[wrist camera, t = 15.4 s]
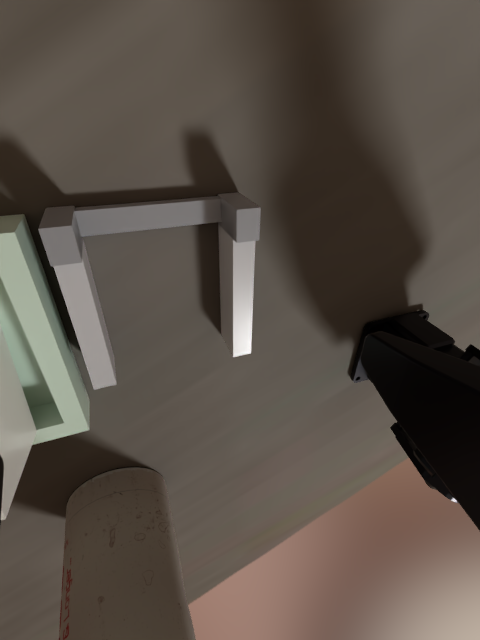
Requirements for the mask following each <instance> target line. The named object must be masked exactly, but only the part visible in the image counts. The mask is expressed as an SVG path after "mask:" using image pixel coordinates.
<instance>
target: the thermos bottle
mask: <svg viewBox="0 0 480 640" xmlns="http://www.w3.org/2000/svg"><path fill="white" fill-rule="evenodd" d="M59 640H196V639H195V634H194V629H193V625H192V620H191V616H190V611H189V608H188V603H187V599H186V594H185V588H184V583H183V576H182V569H181V562H180V556H179V550H178V545H177V540H176V534H175V529H174V524H173V519H172V514H171V508H170V503H169V498H168V493H167V487H166V483H165V480H164V478H163V477H162V476H161V475H160V474H159V473H157V472H155V471H154V470H150V469H147V468H140V467H128V468H121V469H116V470H112V471H108V472H105V473H103V474H100V475H98V476H96V477H94V478H92V479H90V480H88V481H87V482H85V483H84V484H82V485H81V486H80V487H79V488H77V489H76V490H75V491H74V492H73V494H72V495H71V497H70V498H69V500H68V503H67V507H66V525H65V543H64V560H63V578H62V596H61V613H60V631H59Z"/></svg>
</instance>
